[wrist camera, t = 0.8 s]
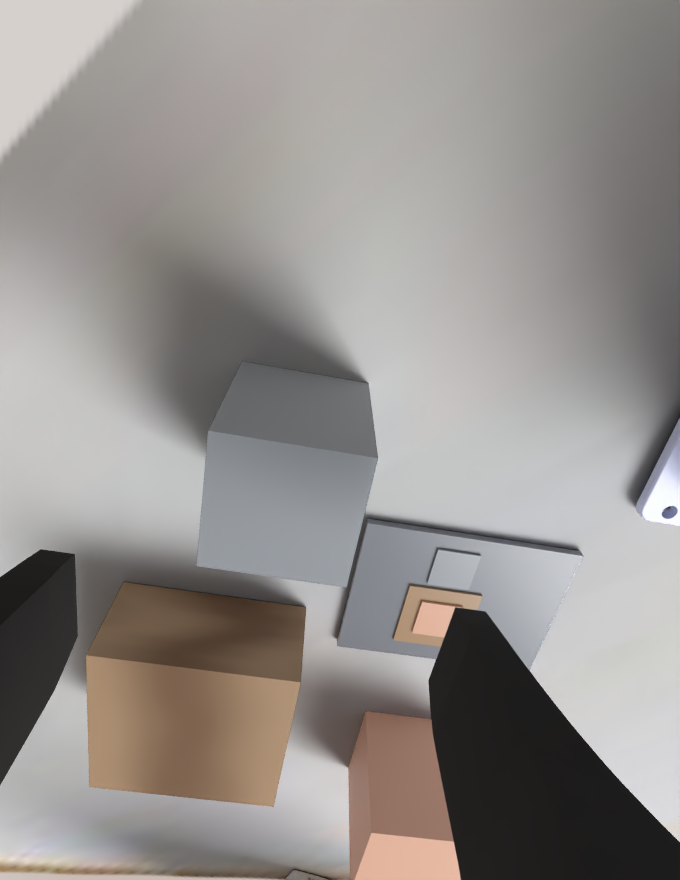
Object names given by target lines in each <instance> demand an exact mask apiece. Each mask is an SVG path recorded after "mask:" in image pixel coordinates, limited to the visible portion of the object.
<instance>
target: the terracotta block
mask: <svg viewBox="0 0 680 880" xmlns="http://www.w3.org/2000/svg"><path fill="white" fill-rule="evenodd" d="M348 771H349V837H350V880H461V878H460V872H459V866H458V860H457V855H456V850H455V845H454V840H453V835H452V830H451V825H450V820H449V815H448V810H447V805H446V800H445V795H444V790H443V785H442V780H441V775H440V770H439V765H438V759H437V754H436V749H435V744H434V738H433V731H432V720H431V719H425V718H417V717H409V716H401V715H393V714H385V713H377V712H368V711H366V712H365V715H364V718H363V722H362V725H361V728H360V731H359V735H358V738H357V741H356V745H355V748H354V751H353V754H352V758H351V761H350V764H349V768H348Z"/></svg>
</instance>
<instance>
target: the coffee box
mask: <svg viewBox="0 0 680 880" xmlns="http://www.w3.org/2000/svg"><path fill="white" fill-rule="evenodd" d="M285 880H329V879H326V878H322V877H319V876H315V875H312V874H308V873H305V872H301V871H297V870H293V871H292V872H291V873H290V874H289V875H288V877H287V878H286V879H285Z"/></svg>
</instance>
